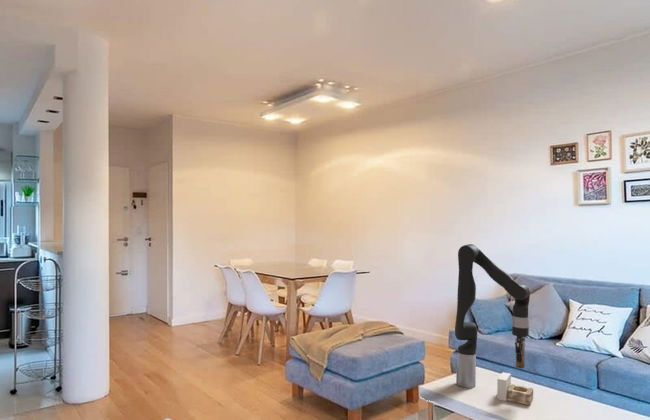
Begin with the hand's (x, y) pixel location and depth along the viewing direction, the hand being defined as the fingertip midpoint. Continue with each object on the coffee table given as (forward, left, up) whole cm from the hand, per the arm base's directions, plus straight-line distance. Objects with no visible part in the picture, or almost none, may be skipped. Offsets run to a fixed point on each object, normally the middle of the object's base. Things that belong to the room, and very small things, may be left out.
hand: (520, 360), depth 219 cm
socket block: (0, 0, -19) cm, 19 cm away
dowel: (0, 0, -3) cm, 3 cm away
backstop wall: (-7, 0, -19) cm, 20 cm away
